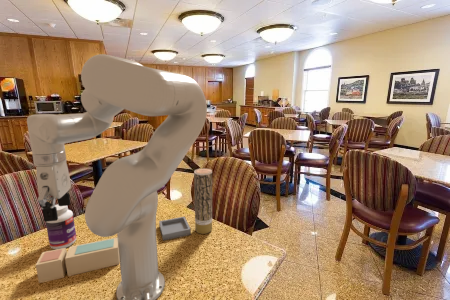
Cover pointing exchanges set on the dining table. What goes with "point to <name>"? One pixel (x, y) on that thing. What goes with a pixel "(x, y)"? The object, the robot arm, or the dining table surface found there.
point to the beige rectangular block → (92, 256)
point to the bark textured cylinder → (203, 200)
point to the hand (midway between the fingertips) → (58, 212)
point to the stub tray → (174, 228)
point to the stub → (51, 265)
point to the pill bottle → (61, 229)
